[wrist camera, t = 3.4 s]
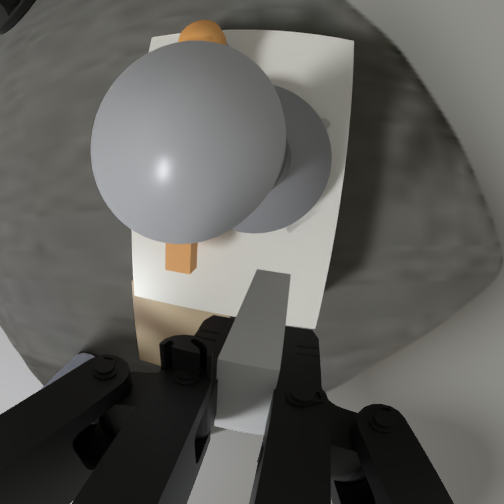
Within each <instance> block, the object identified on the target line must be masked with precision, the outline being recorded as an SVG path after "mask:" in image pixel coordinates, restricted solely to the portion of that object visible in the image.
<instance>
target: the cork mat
mask: <svg viewBox="0 0 504 504" xmlns="http://www.w3.org/2000/svg"><path fill="white" fill-rule="evenodd" d="M132 293H133V306H134V316H135V326H136V334H137V342H138V350H139V357H140V360H143V361H146V362H149V363H152V364H156V365H159V366H161V360H160V349H159V343H160V342H162V341H163V340H164V339H166V338H168V337H171V336H174V335H193V336H194V335H195V333H196V332H197V330H198V329H199V327H200V326H201V324H202V322H203V321H204V320H206V319H207V318H209V317H211V316H212V315H217V316H222V317H227V318H231V316H228V315H222V314H217V313H212V312H207V311H202V310H197V309H192V308H187V307H182V306H177V305H173V304H168V303H164V302H159V301H155V300H151V299H146V298H142V297H138V296H134V281H133V279H132Z"/></svg>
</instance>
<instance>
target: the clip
mask: <svg viewBox="0 0 504 504" xmlns="http://www.w3.org/2000/svg"><path fill="white" fill-rule="evenodd" d="M198 40H200V41H209V42H215V43H219V44H223V45H226V43H227V40H226V37H225V35H224V33H223V31H222V30H221V28H220V27H219V25H218V24H216V23H215V22H213V21H210V20H200V21H196V22H193V23H191V24H190V25H188V26H187V27H186V28H185V29H184V30H183V31H182V32H181V34H180V36H179V39H178V42H183V41H198ZM197 247H198V242H197V243H192V244H169V243H166V249H165V270H168V271H174V272H179V273H185V274H191V273H192V272H193V271H194V270H195V269H196V268H197Z"/></svg>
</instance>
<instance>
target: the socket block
mask: <svg viewBox="0 0 504 504" xmlns="http://www.w3.org/2000/svg"><path fill="white" fill-rule="evenodd" d="M222 31H223V33H224V35H225V37H226V40H227V43H226V46H229V47H231V48H233V49H236V50H238V51H239V52H241V53H243V54H244V55H246V56H247V57H249V58H250V59H251V60H252V61H254V62H255V63H256V64H257V65H258V66H259V67H260V68H261V69H262V70H263V71H264V73H265V74H266V75H267V76H268V78H269V79H270V81H271V83H272V84H273V85H275V86H279V87H282V88H284V89H287V90H289V91H291V92H293V93H294V94H296V95H298V96H299V97H301V98H302V99H303V100H305V101H306V102H307V103H308V104H309V105H310V106H311V107H312V108H313V109H314V110H315V112H316V113H317V114H318V116H319V117H320V119H321V120H322V122H323V124H324V126H325V128H326V131H327V133H328V136H329V140H330V145H331V153H332V162H331V171H330V176H329V179H328V182H327V185H326V188H325V190H324V192H323V194H322V196H321V197H320V198H319V200H318V201H317V203H316V204H315V205H314V206H313V208H312V209H311V210H310V211H309V212H308V213H307V214H305V215H304V216H303V217H302V218H301V219H299V220H298V221H296V222H294V223H293V224H291V225H289V226H287V227H285V228H282V229H279V230H276V231H272V232H266V233H243V232H238V231H233V230H229V231H227V232H225V233H223V234H221V235H220V236H218V237H215V238H212V239H209V240H206V241H202V242H198V247H197V268H196V269H195V270H194V271H193V272H192V273H191V274H185V273H179V272H174V271H168V270H165V249H166V243H163V242H159V241H155V240H152V239H149V238H147V237H144V236H142V235H140V234H138V233H136V232H135V231H133V230H132V261H133V281H134V296H138V297H142V298H146V299H151V300H155V301H159V302H164V303H168V304H173V305H177V306H182V307H187V308H192V309H197V310H202V311H207V312H212V313H217V314H222V315H228V316H233V317H236V316H237V314H238V312H239V309H240V307H241V305H242V303H243V300H244V298H245V296H246V293H247V291H248V289H249V287H250V284H251V282H252V280H253V277H254V275H255V273H256V270H257V269H260V270H266V271H273V272H280V273H286V274H291V277H290V287H289V297H288V306H287V316H286V325H289V326H296V327H304V328H311V329H315V327H316V323H317V319H318V315H319V310H320V306H321V302H322V297H323V293H324V288H325V283H326V278H327V274H328V269H329V264H330V258H331V253H332V248H333V242H334V237H335V231H336V225H337V219H338V213H339V207H340V200H341V193H342V186H343V179H344V171H345V163H346V154H347V145H348V136H349V125H350V114H351V100H352V84H353V62H354V41H352V40H347V39H341V38H336V37H330V36H323V35H316V34H308V33H299V32H288V31H274V30H222ZM180 34H181V33H179V34H171V35H164V36H158V37H152V40H151V44H150V49H149V52H151V51H153V50H155V49H158V48H160V47H162V46H166V45H169V44H172V43H177V42H178V39H179V36H180Z"/></svg>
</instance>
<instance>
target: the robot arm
mask: <svg viewBox="0 0 504 504" xmlns="http://www.w3.org/2000/svg"><path fill="white" fill-rule="evenodd" d="M34 1H35V0H0V34H4V33H6V32H7V31H8V30H10V29H11V28H12V27H13V26H14V25H15V24H16V23H17V22H18V21H19V20H20V19H21V17H22V16H23V15H24V14H25V13H26V11H27V10H28V9H29V8H30V6H31V5H32V4H33V2H34ZM290 277H291V274H286V273H280V272H273V271H266V270H260V269H257V270H256V273H255V275H254V277H253V280H252V282H251V284H250V287H249V289H248V291H247V293H246V296H245V298H244V300H243V303H242V305H241V307H240V309H239V312H238V314H237V316H236V318H235V319H232V318H227V317H222V316H217V315H212V316H211V317H209V318H207V319H206V320H204V321H203V322H202V324H201V326H200V327H199V329H198V330H197V332H196V333H195V335H194V336H193V335H174V336H171V337H168V338H166V339H164V340H163V341H162V342H160V343H159V349H160V360H161V370H160V372H157V373H141V372H130V369H129V367H128V364H127V363H126V362H125V361H124V360H123V359H121V358H119V357H116V356H112V355H101V356H96V357H94V358H91V359H89V360H88V361H86V362H84V363H83V364H81V365H80V366H78V367H76V368H75V369H73V370H72V371H70V372H68V373H67V374H65V375H64V376H62V377H60V378H59V379H57V380H56V381H54V382H52V383H51V384H49V385H48V386H46V387H44V388H43V389H41V390H39V391H38V392H36V393H35V394H33V395H31V396H30V397H28V398H27V399H25V400H23V401H22V402H20V403H19V404H17V405H15V406H14V407H12V408H10V409H9V410H7V411H6V412H4V413H2V414H1V415H0V504H70V503H71V502H72V501H73V500H74V501H73V503H72V504H187V501H188V499H189V496H190V493H191V490H192V488H193V485H194V483H195V480H196V477H197V475H198V472H199V469H200V466H201V464H202V461H203V458H204V456H205V453H206V450H207V447H208V444H209V442H210V435H211V427H212V424H213V422H214V419H215V426H217V427H221V428H226V429H231V430H235V431H240V432H246V433H251V434H257V435H263V436H264V438H263V442H262V446H261V450H260V454H259V457H258V461H257V462H258V465H257V470H256V475H255V479H254V484H253V489H252V493H251V498H250V503H249V504H331V499H332V503H333V504H454V503H453V501H452V499H451V498H450V496H449V494H448V492H447V490H446V488H445V487H444V485H443V483H442V481H441V479H440V478H439V476H438V474H437V472H436V470H435V469H434V467H433V465H432V463H431V462H430V460H429V458H428V456H427V455H426V453H425V451H424V450H423V448H422V446H421V444H420V443H419V441H418V439H417V438H416V436H415V434H414V433H413V431H412V429H411V428H410V426H409V425H408V423H407V421H406V419H405V418H404V417H403V415H402V414H401V413H400V412H399V411H398V410H396V409H394V408H393V407H391V406H387V405H383V404H372V405H369V406H366V407H364V408H363V409H362V410H361V411H360V412H359V413H356V412H353V411H350V410H346V409H343V408H341V407H338V406H336V405H335V404H333V403H331V402H330V401H329V400H328V398H327V395H326V393H325V392H324V391H323V390H322V387H321V368H320V358H319V357H320V353H319V339H318V337H317V336H316V335H315V333H314V332H313V331H312V330H308V329H300V328H293V327H287V326H285V325H286V316H287V306H288V297H289V287H290Z"/></svg>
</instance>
